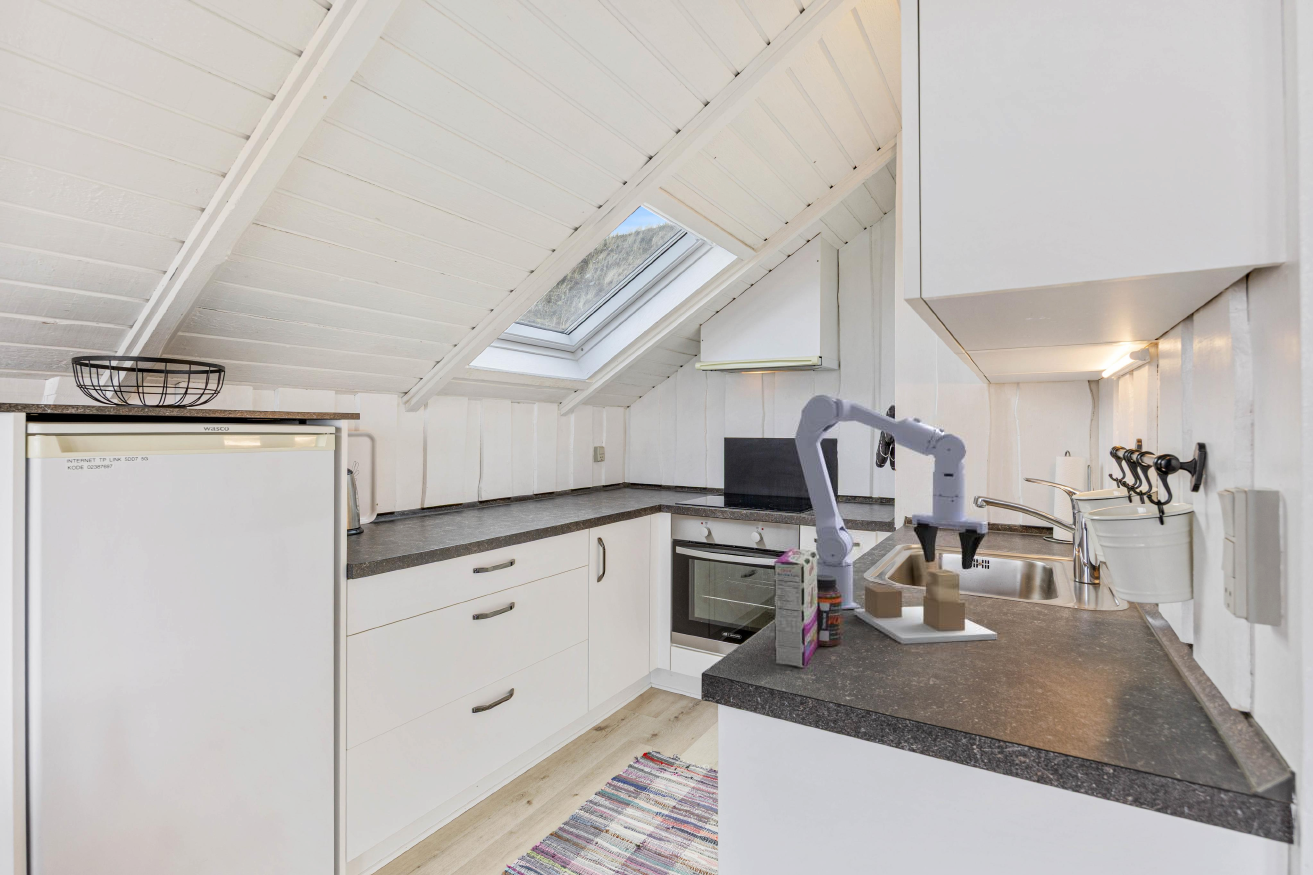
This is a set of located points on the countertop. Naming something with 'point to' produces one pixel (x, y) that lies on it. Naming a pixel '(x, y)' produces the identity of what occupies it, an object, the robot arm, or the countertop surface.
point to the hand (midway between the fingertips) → (947, 565)
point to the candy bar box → (796, 607)
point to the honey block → (942, 585)
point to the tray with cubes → (918, 618)
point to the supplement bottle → (828, 611)
